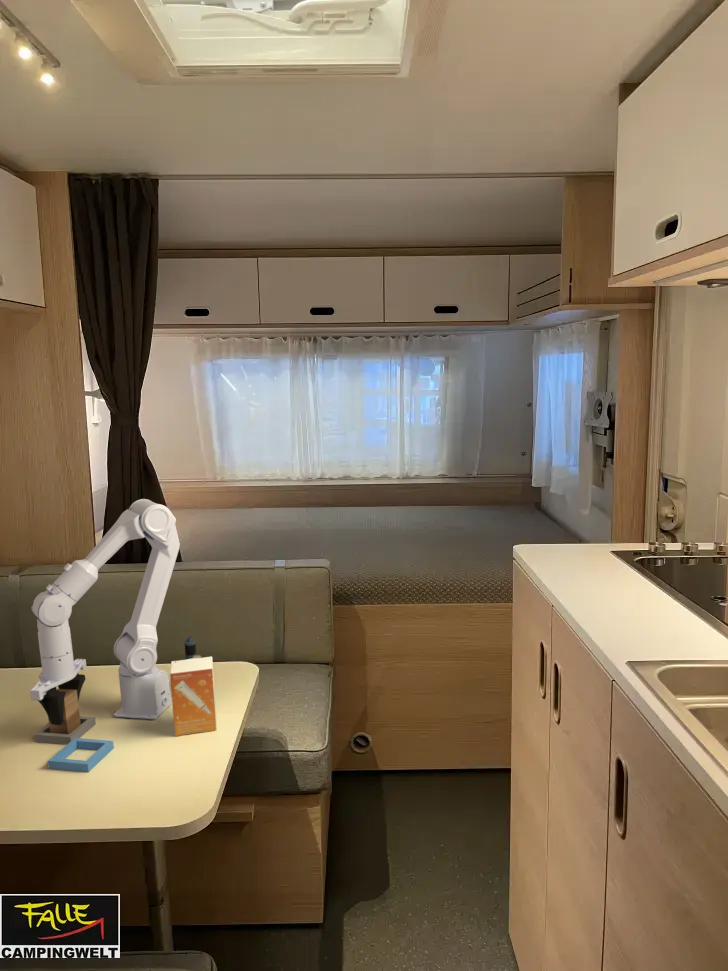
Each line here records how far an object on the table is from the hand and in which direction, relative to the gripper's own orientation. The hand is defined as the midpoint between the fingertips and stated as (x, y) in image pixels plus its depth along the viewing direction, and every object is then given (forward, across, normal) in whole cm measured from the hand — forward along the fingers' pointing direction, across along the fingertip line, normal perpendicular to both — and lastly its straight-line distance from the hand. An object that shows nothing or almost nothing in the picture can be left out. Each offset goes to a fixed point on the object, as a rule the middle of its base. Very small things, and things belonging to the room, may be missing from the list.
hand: (64, 718), depth 137 cm
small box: (+3, -6, +25) cm, 26 cm away
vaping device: (+3, -21, +18) cm, 28 cm away
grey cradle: (+3, 0, 0) cm, 3 cm away
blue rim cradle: (+3, +8, +9) cm, 12 cm away
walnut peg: (+3, 0, 0) cm, 3 cm away
